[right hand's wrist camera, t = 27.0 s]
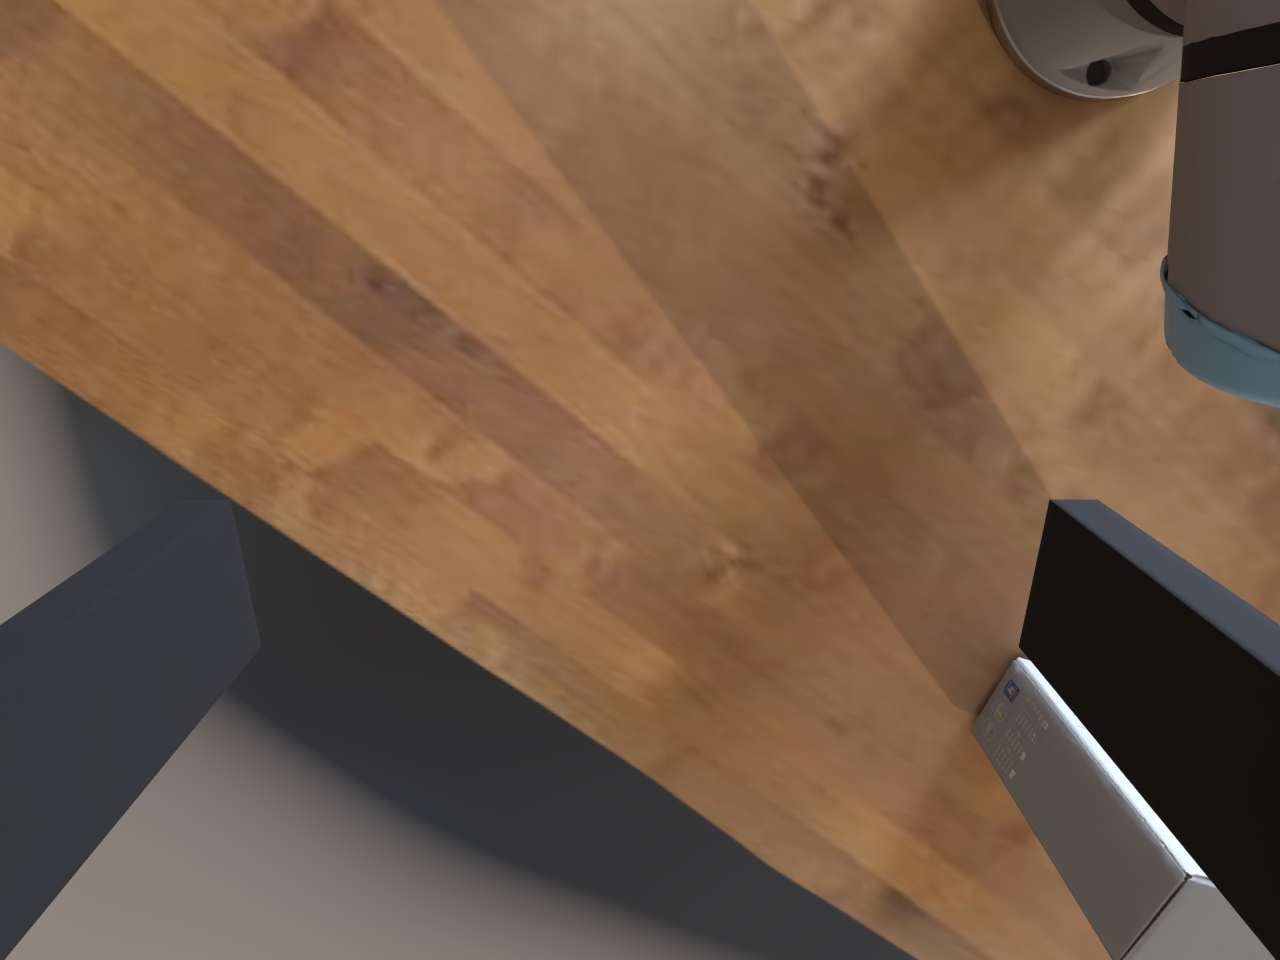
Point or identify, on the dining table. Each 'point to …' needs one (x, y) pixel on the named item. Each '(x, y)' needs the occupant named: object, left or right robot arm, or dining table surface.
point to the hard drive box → (1104, 832)
